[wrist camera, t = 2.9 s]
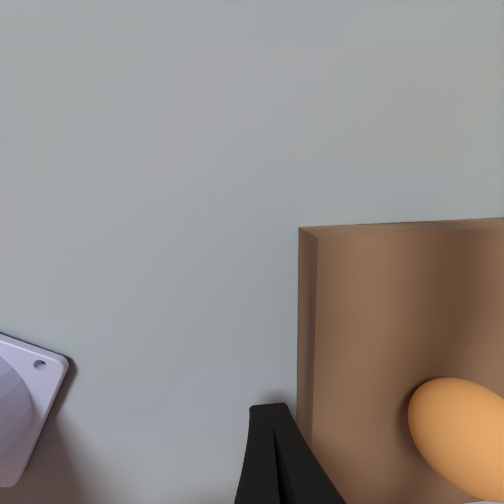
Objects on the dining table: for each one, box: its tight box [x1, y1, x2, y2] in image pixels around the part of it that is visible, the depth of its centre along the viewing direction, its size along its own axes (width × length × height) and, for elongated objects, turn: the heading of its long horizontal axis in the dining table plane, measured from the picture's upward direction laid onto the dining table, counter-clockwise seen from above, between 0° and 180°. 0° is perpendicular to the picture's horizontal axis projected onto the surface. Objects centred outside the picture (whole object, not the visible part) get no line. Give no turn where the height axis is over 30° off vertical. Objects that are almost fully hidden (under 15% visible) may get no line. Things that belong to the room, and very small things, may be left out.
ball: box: [408, 377, 504, 502], centre depth 9 cm, size 4×4×4 cm
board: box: [297, 218, 504, 504], centre depth 12 cm, size 17×14×2 cm
